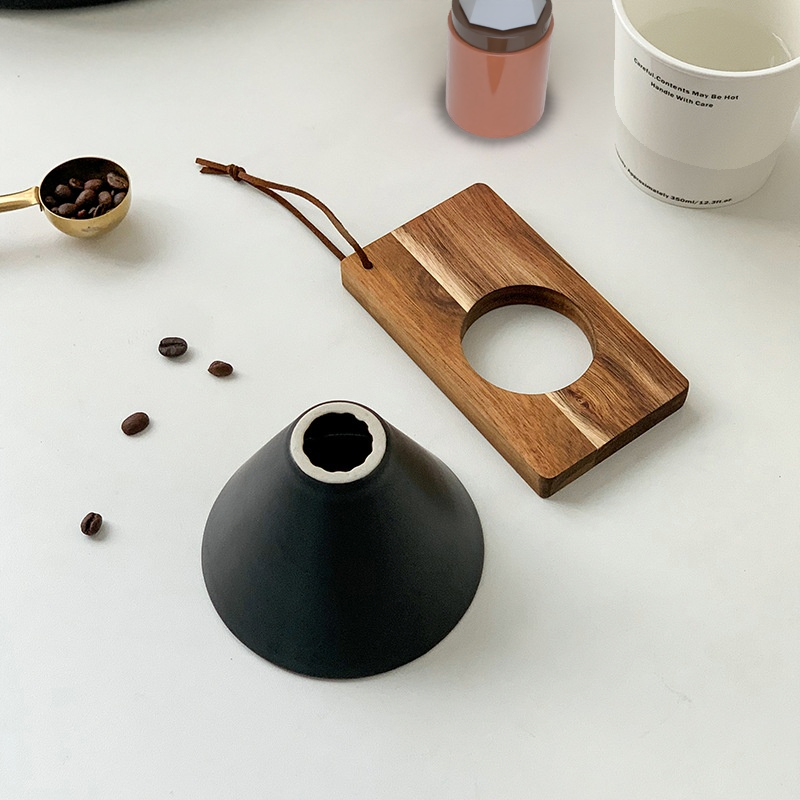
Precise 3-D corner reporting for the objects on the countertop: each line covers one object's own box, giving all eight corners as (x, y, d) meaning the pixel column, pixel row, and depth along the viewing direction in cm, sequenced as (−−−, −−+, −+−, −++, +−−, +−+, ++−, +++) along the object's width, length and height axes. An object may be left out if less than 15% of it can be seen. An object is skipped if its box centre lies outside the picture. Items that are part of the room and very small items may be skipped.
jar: (525, 67, 112) (535, -39, 103) (557, 132, 107) (571, 28, 98) (433, 86, 111) (434, -19, 101) (462, 153, 106) (466, 49, 97)
